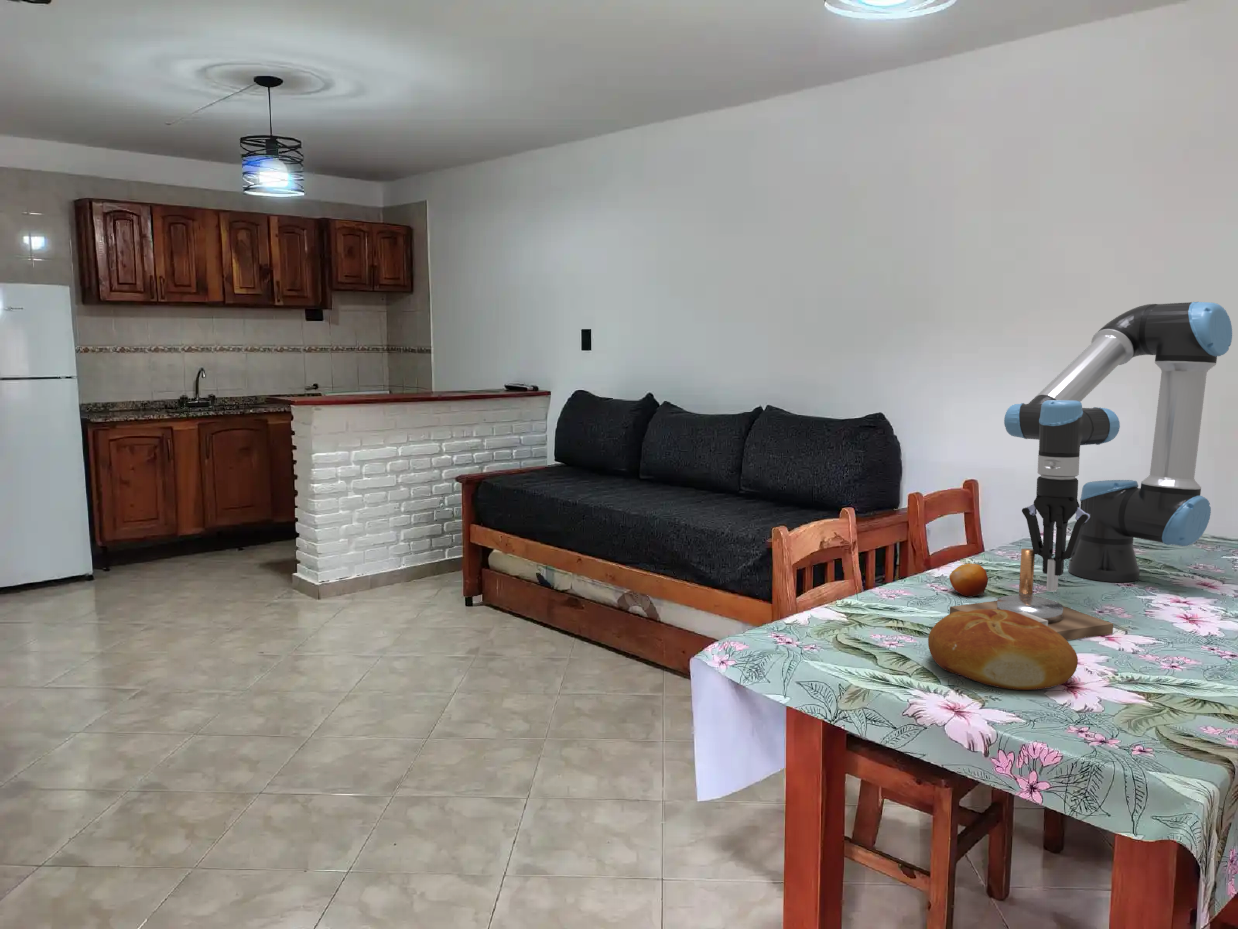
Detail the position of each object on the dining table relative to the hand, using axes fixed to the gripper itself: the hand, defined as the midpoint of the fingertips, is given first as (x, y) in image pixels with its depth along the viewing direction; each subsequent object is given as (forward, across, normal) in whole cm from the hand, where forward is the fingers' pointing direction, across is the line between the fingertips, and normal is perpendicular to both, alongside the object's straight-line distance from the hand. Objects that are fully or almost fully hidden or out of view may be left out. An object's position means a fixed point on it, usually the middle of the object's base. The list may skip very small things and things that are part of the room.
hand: (1051, 590), depth 181 cm
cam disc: (+3, -2, -7) cm, 8 cm away
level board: (+6, -1, -9) cm, 10 cm away
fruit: (+6, -19, +5) cm, 21 cm away
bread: (+6, +4, -38) cm, 39 cm away
